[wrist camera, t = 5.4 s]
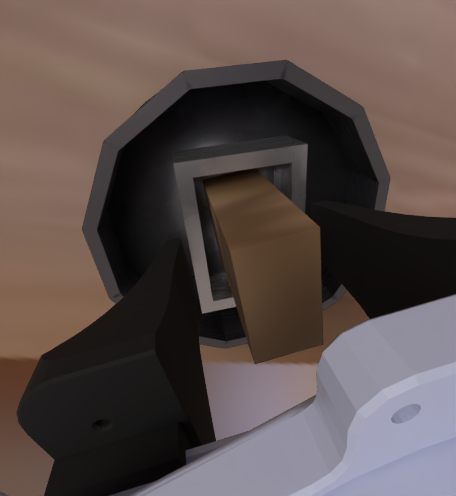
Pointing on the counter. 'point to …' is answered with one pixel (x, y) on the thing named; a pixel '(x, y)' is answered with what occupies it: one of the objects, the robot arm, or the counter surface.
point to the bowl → (223, 162)
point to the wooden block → (268, 263)
